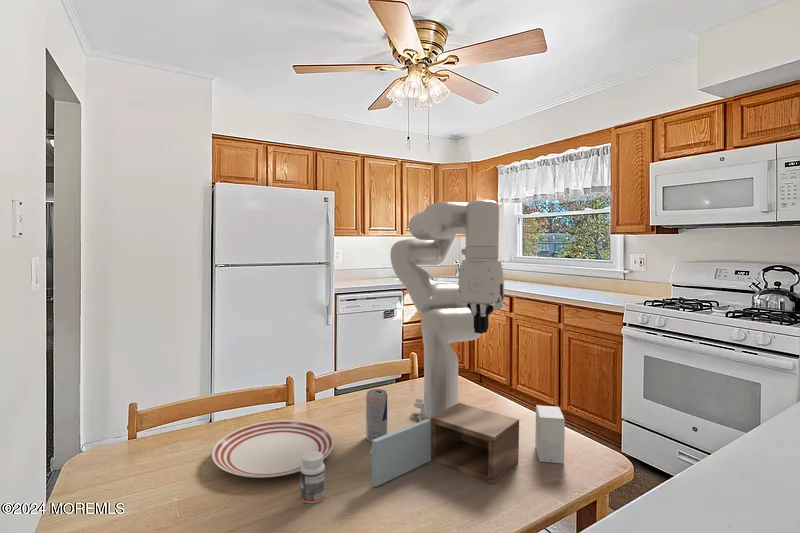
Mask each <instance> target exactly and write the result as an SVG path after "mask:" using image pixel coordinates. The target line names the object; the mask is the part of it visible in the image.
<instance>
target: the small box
mask: <svg viewBox="0 0 800 533" xmlns="http://www.w3.org/2000/svg"><path fill="white" fill-rule="evenodd" d="M565 420H566V419H565V417H564V415H563V412H562V411H561V408H560V407H559V406H549V405H539V404H536V406H535V441H534V442H535V450H536V454H537V458H538V462H541V463H553V464H562V465H563V464H565V438H566V437H565V436H566V435H565V430H566V429H565V426H566V424H565V422H566V421H565Z"/></svg>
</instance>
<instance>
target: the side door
mask: <svg viewBox="0 0 800 533" xmlns="http://www.w3.org/2000/svg"><path fill="white" fill-rule="evenodd" d="M430 427H431V421H430V420H428V419H425V420H423V421H420V422H419V421H417V422H415V423H412V424H410V425H407V426H405V427H403V428H400V429H397V430H394V431H392V432H389V433H387V434H386V435H384V436H381V437H378V438H376V439H373V440H372V442H371V448H370V449H369V450H370V451H369V453H370V455H371V485H372V486H373V487H375V488H376V487H378V486H381V485H383V484H385V483H387V482H389V481H391V480H393V479H395V478H398V477H399V476H401V475H404V474H406V473H408V472H410V471H412V470H415V469H416V468H418V467H420V466H423V465H425V464H427V463H430V461H431V428H430Z"/></svg>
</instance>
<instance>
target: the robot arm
mask: <svg viewBox="0 0 800 533" xmlns="http://www.w3.org/2000/svg"><path fill="white" fill-rule="evenodd" d="M499 225H500V207H499V203H498V202H497V201H495V200H490V199H482V200H479V199H478V200H471V201H469V202H464V201H463V202H460V201H459V202H458V201H439V202H435V203H432V204H428V205H426V207H425V209H424V211H420V212H418V213H416V214H414V215H413V216H412V217H411V219H409V222H408V230H409V232H410V234H411V236H412V237H414V238H408V239H401V240H398V241H396V242H395V243H393V245H391V248H390V253H389V254H390V263H391V267H392V269H393V272H394V274H395V275H396V277H397V279H398V280H399V281H400V282H401V283H402V285H404V287H405V289H406V291H407V293H408V295H409V297H410V298H411V301H412V303H413V305H414V307H415V309H416V311H417V312H418V313H419V315H422V316H421V318H420V319H421V320H420V328H421V329H420V330H421V336H422V343H423V358H424V359H423V369H424V371H423V375H424V376H423V378H424V380H423V398H420V397H417V398H416V399H415V402H414V404H413V406H414V408H417V409H420V412H419V413H418V417H417V418H418V422H420V421H423V420H425V419H428V420H430V421H431V417H433V416H434V415H436V414H438V413H440V412H442V411H444V410H446V409H448V408H450V407H452V406H454V405H456V404H458V403H459V357H458V354H457V353H456V351H454V348H452V346H451V343H459V342H469V341H474V340H477V339H479V338H480V337H481V336H482V334H485V333H487V332H488V329H489V316H491V314H492V313H493V312H494V311H497V310H502V309H504V304H503V301H504V299H505V281H504V280H505V279H504V271H503V265H502V261H501V260H499V247H500V246H499V244H500V242H499V236H500V233H499V232H500V231H499V230H500V226H499ZM457 234H465V248H462V249H461V255H463V256H464V257H465V259H462V260H461V264H460V267H459V268H460V269H459V274H458V283H457V284H456V283H436V282H435V281H434V280H433V278H432V276H431V274H430V273H428V272H427V271H426V270H425V269H423V268H422V267H420V266H436V265H437V266H438V265H441V263H443V262H444V260H445V258H446V257H447V254H448V252H449V250H450V249H451V246H452V245H453V242H454V239H455V237H456V235H457ZM430 429H431V427H430Z"/></svg>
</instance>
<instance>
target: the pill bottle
mask: <svg viewBox="0 0 800 533" xmlns="http://www.w3.org/2000/svg"><path fill="white" fill-rule="evenodd" d="M299 473H300V474H299V477H300V480H299V484H300V486H299V487H300V490H299V491H300V495H299V496H300V499H301V501H302V502H303V503H306V504H316V503H319V502H321V501H322V500H323V499H324V498H325V497H326V496H325V495H326V474H325V473H326V466H325V463H324V460H323V454H322V453H321V452H318V451H312V452H308V453H305V454H304V455H303V457H302V466H301V468H300V471H299Z"/></svg>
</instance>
